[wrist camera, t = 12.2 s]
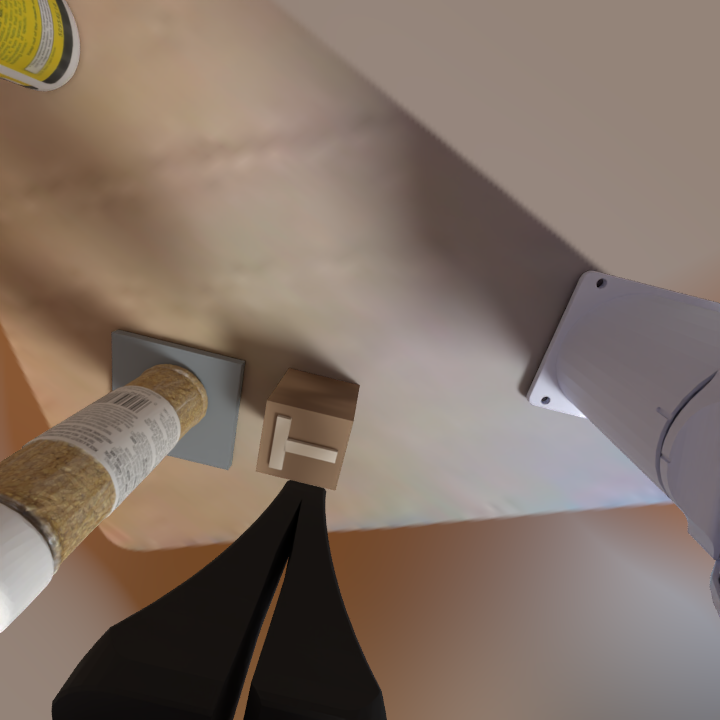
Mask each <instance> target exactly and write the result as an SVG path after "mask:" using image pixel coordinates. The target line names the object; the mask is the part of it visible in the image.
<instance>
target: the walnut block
mask: <svg viewBox="0 0 720 720" xmlns="http://www.w3.org/2000/svg"><path fill="white" fill-rule="evenodd" d="M359 387H360V385H357V384H353V383H348V382H344V381H340V380H336V379H332V378H328V377H324V376H320V375H316V374H312V373H308V372H303V371H299V370H295V369H291V368H289V369H288V370H287V372H286V373H285V375H284V376H283V378H282V379H281V381H280V382H279V383H278V385H277V386H276V388H275V389H274V391H273V392H272V394H271V395H270V397H269V398H268V400H267V403H266V409H265V416H264V422H263V428H262V435H261V441H260V448H259V454H258V460H257V467H256V472H260V473H265V474H269V475H273V476H277V477H281V478H286V479H290V480H294V481H298V482H302V483H306V484H311V485H315V486H319V487H323V488H327V489H331V490H336V486H337V482H338V479H339V475H340V471H341V467H342V463H343V459H344V456H345V452H346V448H347V444H348V440H349V436H350V433H351V429H352V425H353V421H354V415H355V410H356V404H357V398H358V392H359Z"/></svg>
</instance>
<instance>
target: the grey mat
mask: <svg viewBox="0 0 720 720" xmlns="http://www.w3.org/2000/svg"><path fill="white" fill-rule="evenodd" d="M159 364H172V365H176V366H180V367H182V368H184V369H187V370H188V371H190V372H191V373H192V374H193V375H194V376H196V377H197V378H198V380H199V381H200V382H201V383H202V385H203V386H204V388H205V390H206V394H207V397H208V406H207V410H206V414H205V416H204V417H203V418H202V419H201V420H200V422H199V423H197V424H196V425H195V426H193V427H192V428H191V429H190V430H189V431H188V432H187V433H186V434H185V435H184V436H183V437H182V438H181V439H180V440H179V441H178V442H177V444H176V445H175V447H174V448H173V449H172V450H171V451H170V452H169V453H168V454H167V455H168V456H172V457H176V458H180V459H185V460H189V461H193V462H197V463H201V464H205V465H209V466H213V467H217V468H221V469H226V470H228V469H229V468H230V466H231V465H232V458H233V450H234V443H235V435H236V427H237V420H238V412H239V405H240V397H241V389H242V382H243V374H244V367H245V361H243V360H239V359H235V358H231V357H227V356H223V355H219V354H215V353H211V352H207V351H203V350H199V349H195V348H191V347H187V346H183V345H179V344H175V343H171V342H167V341H163V340H159V339H155V338H151V337H147V336H143V335H139V334H135V333H131V332H127V331H123V330H116V331H113V332H112V391H114V390H115V389H117V388H120V387H123V386H125V385H127V384H128V383H130V382H131V381H133V380H135V379H136V378H138V377H140V375H141V374H142V373H143V372H144V371H145V370H147V369H149V368H151V367H153V366H155V365H159Z"/></svg>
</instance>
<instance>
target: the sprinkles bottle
mask: <svg viewBox="0 0 720 720" xmlns="http://www.w3.org/2000/svg"><path fill="white" fill-rule="evenodd" d="M207 406H208V397H207V394H206V390H205V388H204V386H203V385H202V383H201V382H200V381H199V380H198V378H197V377H196V376H194V375H193V374H192V373H191V372H190V371H188V370H187V369H184V368H182V367H180V366H176V365H172V364H159V365H155V366H153V367H151V368H149V369H147V370H145V371H144V372H143V373H142V374H141V375H140V377H138V378H136V379H135V380H133V381H131V382H130V383H128V384H127V385H125V386H123V387H120V388H117V389H115V390H114V391H112V392H110V393H108V394H107V395H105V396H104V397H102V398H100V399H98V400H97V401H95V402H93V403H92V404H90V405H88V406H87V407H85V408H83V409H82V410H80V411H79V412H77V413H75V414H74V415H72V416H71V417H69V418H67V419H66V420H64V421H62V422H61V423H59V424H57V425H56V426H54V427H52V428H51V429H49V430H47V431H46V432H44V433H43V434H41V435H39V436H38V437H36V438H35V439H33V440H31V441H30V442H28V443H27V444H25V445H24V446H23V447H22V449H20V450H19V451H17V452H15V453H14V454H12V455H11V456H9V457H8V458H6V459H4V460H3V461H2V462H0V633H1V632H2V631H3V630H5V629H6V628H7V627H8V626H9V625H10V624H11V622H12V621H13V620H15V618H17V617H18V615H20V614H21V613H22V612H23V610H25V608H26V607H27V606H28V605H29V604H30V603H31V602H32V601H33V600H34V599H35V598H36V597H37V596H38V595H39V594H40V592H41V591H42V590H43V589H44V588H45V587H46V586H47V585H48V583H49V582H50V580H51V579H52V576H53V575H54V574H55V573H56V572H57V571H58V569H59V566H60V565H61V563H62V562H63V561H64V560H65V559H66V558H67V557H68V555H69V554H70V553H72V552H73V550H74V549H75V548H76V547H77V546H78V545H79V544H80V543H81V542H82V541H83V540H84V539H85V538H86V537H87V536H88V534H89V533H90V532H92V531H93V529H94V528H95V527H96V526H98V525H99V524H100V523H101V521H102V520H103V519H105V518H107V517H108V516H109V515H110V514H111V513H112V512H113V511H114V510H115V509H116V508H117V507H118V506H119V505H120V504H121V503H122V501H123V500H124V499H125V498H126V497H127V496H128V495H129V494H130V493H131V492H132V491H133V490H134V489H135V488H136V487H137V486H138V485H139V484H140V483H141V482H142V481H143V480H144V479H145V477H146V476H147V475H148V474H149V473H150V472H151V471H152V470H153V469H154V468H155V467H156V466H157V465H158V464H159V463H160V462H161V461H162V460H163V458H164V457H165V456H166V455H167V454H168V453H169V452H170V451H171V450H172V449H173V448H174V447H175V445H176V444H177V442H178V441H179V440H180V439H181V438H182V437H183V436H184V435H185V434H186V433H187V432H188V431H189V430H190V429H191V428H192V427H193V426H195V425H196V424H197V423H199V422H200V420H201V419H202V418H203V417H204V416H205V414H206V410H207Z"/></svg>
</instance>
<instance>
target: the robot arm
mask: <svg viewBox="0 0 720 720" xmlns="http://www.w3.org/2000/svg"><path fill="white" fill-rule="evenodd" d="M601 278H602V279H603V284H602V285H601V286H600V287H597V286H596V284H597V281H598V280H599V279H601ZM543 397H548V398H547V400H546V401H541V399H542V398H543ZM527 400H528V401H529V402H530V404H532V405H534V406H538V407H542V408H546V409H550V410H554V411H558V412H562V413H566V414H570V415H574V416H578V417H582V418H586V419H589V420H590V421H591V422H592V423H593V424H594V425H595V426H596V427H597V428H598V429H599V430H600V431H601V432H602V433H603V434H604V435H605V436H606V437H607V438H608V439H609V440H610V441H611V442H612V443H613V444H614V445H615V446H616V447H617V448H618V449H619V450H620V451H622V452H623V453H624V454H625V455H626V456H627V457H628V458H629V459H630V460H631V461H632V462H633V463H634V464H635V465H636V466H637V467H638V468H639V469H640V470H641V471H642V472H643V473H644V474H645V475H646V476H647V477H648V478H649V479H650V480H651V481H652V482H653V483H654V484H655V485H656V486H657V487H658V488H659V489H660V490H662V491H663V492H664V493H665V494H666V495H667V496H668V497H669V498H670V499H671V500H672V501H673V502H674V503H675V504H676V505H677V506H678V507H679V508H680V509H681V511H682V512H683V513H684V514H685V516H686V518H687V521H688V533H689V534H690V535H691V536H692V537H693V538H694V539H695V540H696V541H697V542H698V543H699V544H700V545H701V546H702V547H703V548H704V549H705V551H706V552H707V553H708V554H709V555H710V556H711V557H712V558H713V559H714V560H716V562H715V565H714V567H713V571H712V573H711V577H710V590H711V595H712V599H713V603H714V606H715V608H716V610H717V612H718V615H719V617H720V303H718V302H714V301H710V300H706V299H702V298H698V297H694V296H690V295H686V294H682V293H678V292H675V291H671V290H667V289H663V288H659V287H655V286H651V285H647V284H643V283H640V282H635V281H632V280H627V279H623V278H620V277H616V276H612V275H608V274H604V273H601V272H597V271H587V272H585V273H584V274H582V276H581V277H580V279H579V281H578V283H577V285H576V288H575V290H574V292H573V294H572V296H571V299H570V301H569V303H568V305H567V307H566V310H565V312H564V314H563V316H562V318H561V321H560V323H559V325H558V327H557V329H556V332H555V334H554V336H553V338H552V340H551V343H550V345H549V347H548V349H547V351H546V354H545V356H544V358H543V360H542V362H541V365H540V367H539V369H538V371H537V373H536V376H535V378H534V380H533V382H532V384H531V387H530V389H529V391H528V393H527ZM325 497H326V490H325V489H324V488H322V487H317V486H313V485H309V484H305V483H301V482H297V481H293V480H289V481H287V482H286V484H285V486H284V487H283V489H282V490H281V491H280V493H279V494H278V495H277V497H276V498H275V499H274V500H273V502H272V503H271V504H270V505H269V507H268V508H267V509H266V510H265V511H264V512H263V513H262V514H261V516H260V517H259V518H258V519H257V520H256V521H255V522H254V523H253V524H252V525H251V526H250V527H249V528H248V529H247V530H246V531H245V532H244V533H243V534H242V535H241V536H240V537H239V538H238V539H237V540H236V541H235V542H234V543H233V544H232V545H231V546H229V547H228V548H227V549H226V550H225V551H224V552H222V553H221V554H220V555H219V556H218V557H217V558H215V559H214V560H213V561H212V562H210V563H209V564H208V565H206V566H205V567H204V568H203V569H202V570H200V571H199V572H198V573H196V574H195V575H193V576H192V577H191V578H189V579H188V580H187V581H185V582H184V583H182V584H181V585H179V586H178V587H176V588H175V589H173V590H172V591H170V592H169V593H167V594H166V595H164V596H163V597H161V598H160V599H158V600H157V601H155V602H153V603H152V604H150V605H149V606H147V607H145V608H143V609H142V610H140V611H138V612H136V613H135V614H133V615H131V616H129V617H128V618H126V619H124V620H123V621H121V622H119V623H117V624H116V625H114V626H112V627H110V628H109V629H108V630H107V631H106V632H105V634H104V635H103V636H102V637H101V638H100V639H99V640H98V641H97V642H96V643H95V645H94V646H93V647H92V648H91V649H90V650H89V652H88V653H87V654H86V655H85V656H84V658H83V659H82V660H81V661H80V662H79V664H78V665H77V667H76V668H75V669H74V671H73V672H72V674H71V675H70V677H69V678H68V680H67V681H66V683H65V684H64V685H63V687H62V688H61V690H60V691H59V693H58V694H57V696H56V697H55V699H54V700H53V702H52V720H233V718H234V715H235V711H236V707H237V705H238V701H239V698H240V695H241V691H242V688H243V685H244V682H245V678H246V675H247V672H248V668H249V665H250V662H251V658H252V655H253V652H254V648H255V645H256V642H257V638H258V636H259V633H260V630H261V627H262V624H263V621H264V619H265V616H266V614H267V611H268V609H269V606H270V604H271V601H272V598H273V596H274V593H275V591H276V588H277V586H278V583H279V580H280V578H281V575H282V573H283V570H284V568H285V565H286V562H287V560H288V564H287V568H286V574H285V578H284V582H283V585H282V588H281V592H280V595H279V598H278V601H277V604H276V608H275V611H274V614H273V617H272V620H271V623H270V627H269V630H268V633H267V636H266V639H265V642H264V645H263V648H262V651H261V654H260V657H259V661H258V664H257V667H256V670H255V673H254V676H253V679H252V682H251V686H250V691H249V696H248V700H247V705H246V710H245V715H244V719H243V720H387V718H386V711H385V706H384V701H383V696H382V691H381V689H380V687H379V685H378V683H377V681H376V679H375V677H374V675H373V673H372V671H371V669H370V667H369V665H368V663H367V661H366V658H365V656H364V654H363V652H362V649H361V647H360V645H359V642H358V640H357V638H356V635H355V633H354V630H353V627H352V624H351V622H350V620H349V617H348V614H347V611H346V608H345V605H344V602H343V599H342V596H341V593H340V589H339V586H338V582H337V579H336V575H335V571H334V567H333V562H332V557H331V553H330V547H329V541H328V533H327V526H326V514H325ZM288 557H289V558H288Z"/></svg>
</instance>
